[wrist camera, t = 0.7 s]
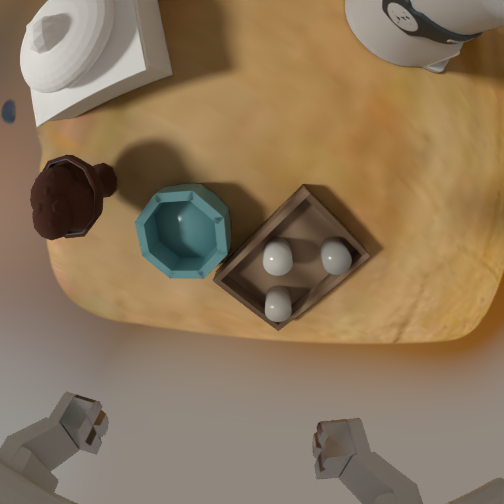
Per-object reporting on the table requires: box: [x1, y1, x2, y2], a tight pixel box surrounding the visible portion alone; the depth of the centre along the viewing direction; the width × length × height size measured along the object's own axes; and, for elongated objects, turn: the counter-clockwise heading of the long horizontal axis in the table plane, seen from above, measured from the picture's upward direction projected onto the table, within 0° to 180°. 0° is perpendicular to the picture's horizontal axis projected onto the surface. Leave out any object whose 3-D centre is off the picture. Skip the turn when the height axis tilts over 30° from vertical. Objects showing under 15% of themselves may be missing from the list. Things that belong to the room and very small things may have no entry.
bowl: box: [135, 184, 232, 278], centre depth 39 cm, size 12×12×5 cm
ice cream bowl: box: [30, 155, 117, 240], centre depth 32 cm, size 11×11×15 cm
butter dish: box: [20, 0, 173, 127], centre depth 23 cm, size 18×18×16 cm
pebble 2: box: [265, 285, 292, 322], centre depth 42 cm, size 4×4×4 cm
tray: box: [213, 184, 370, 331], centre depth 41 cm, size 18×13×3 cm
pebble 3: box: [319, 237, 352, 275], centre depth 38 cm, size 4×4×4 cm
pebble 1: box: [263, 237, 293, 276], centre depth 39 cm, size 4×4×4 cm
